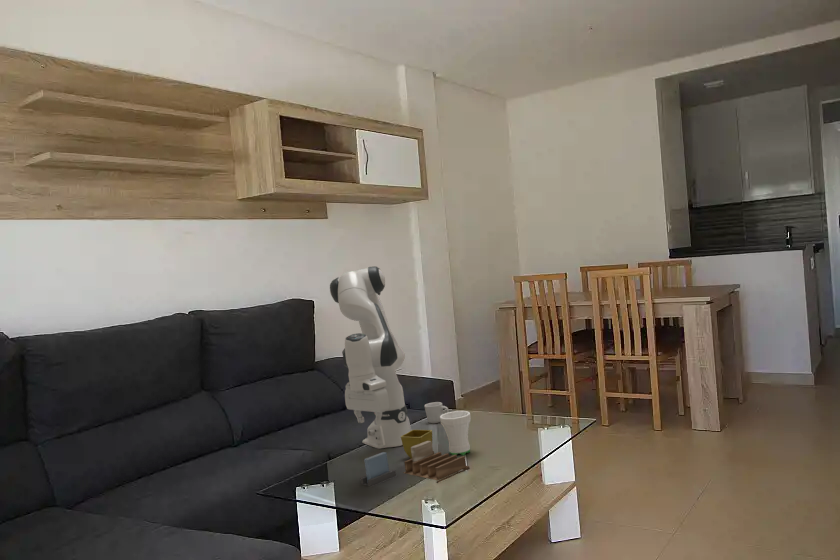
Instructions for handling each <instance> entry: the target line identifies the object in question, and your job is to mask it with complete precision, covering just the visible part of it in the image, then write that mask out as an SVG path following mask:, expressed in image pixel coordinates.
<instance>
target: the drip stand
mask: <svg viewBox="0 0 840 560" xmlns="http://www.w3.org/2000/svg"><path fill="white" fill-rule="evenodd" d="M397 477H398V475H397V471H396V470H395V469H392V470H389V472H387V473H384V474H382V475H379V476H377V477H374V478H372V479H369V480H368V483H367V475H365V476H363V477H360V482H359V484H360V485H364V486H369V487H371V488H373V487H375V486H378V485H380V484H383V483H385V482H387V481H390V480H392V479H394V478H397Z"/></svg>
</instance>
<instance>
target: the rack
mask: <svg viewBox="0 0 840 560" xmlns="http://www.w3.org/2000/svg"><path fill="white" fill-rule="evenodd" d="M411 453H412V459H411V458H409V459H408V460H404V462H403V463H404V470H405V471H404V472H402V473H403V474H406V475H409V476H415V477H421V478H425V479H428V480H434V481H436V483H437V484H438V483H441V482H442V481H444V480H445V481H446V480H447V479H449V478H451V477H454V476H456V475H458V474H461V473H462V472H465V471H467V470H470V466H469V465H467V462H466V461H467V460H466V455H461V456H460V457H458V455H450V453H448V452H447V453H444V454H443V453H442V452H441V451H438V452H436V453H435V451H434V449H433V440H432V441H426V442H423V443H420V444H418V445H415V446H413V447H411Z"/></svg>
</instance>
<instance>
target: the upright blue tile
mask: <svg viewBox="0 0 840 560" xmlns="http://www.w3.org/2000/svg"><path fill="white" fill-rule="evenodd" d="M363 462H364V466H365V467H364V468H365V474H366V475H365V476H367V483H368V480H369V479H372V478H374V477H377V476H379V475H382V474H384V473H387V472H389V471H390V468H389V467H390V466H389V461H388V452H386V451H385V452H384V451H382V452H380V453H377V454H375V455H372V456H369V457H366V458H364V461H363Z"/></svg>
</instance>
